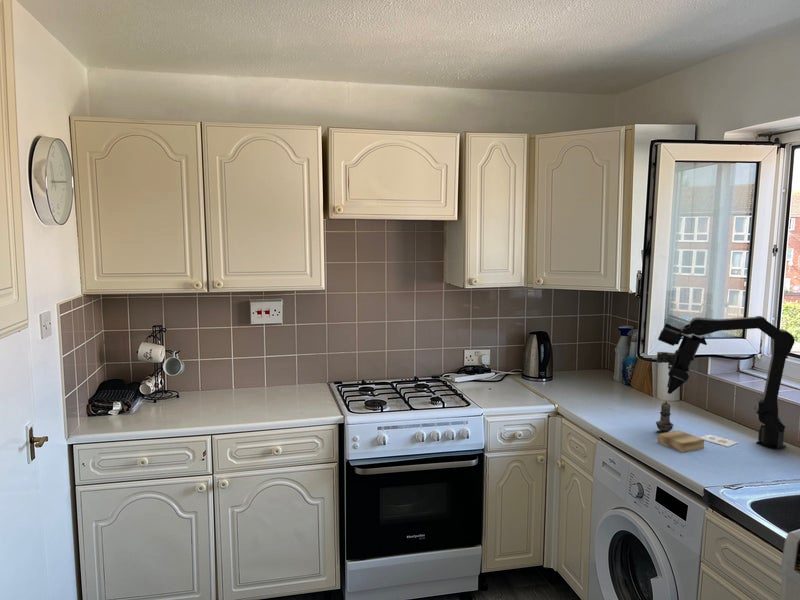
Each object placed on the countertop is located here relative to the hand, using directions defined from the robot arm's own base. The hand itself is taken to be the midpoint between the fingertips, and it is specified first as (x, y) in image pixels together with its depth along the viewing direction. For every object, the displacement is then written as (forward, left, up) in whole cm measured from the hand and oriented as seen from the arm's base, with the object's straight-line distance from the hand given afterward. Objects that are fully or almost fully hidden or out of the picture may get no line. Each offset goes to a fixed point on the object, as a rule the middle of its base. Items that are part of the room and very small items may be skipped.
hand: (668, 390), depth 208 cm
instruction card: (-14, -8, -15) cm, 23 cm away
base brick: (-12, +8, -15) cm, 21 cm away
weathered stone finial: (-1, +3, -15) cm, 16 cm away
